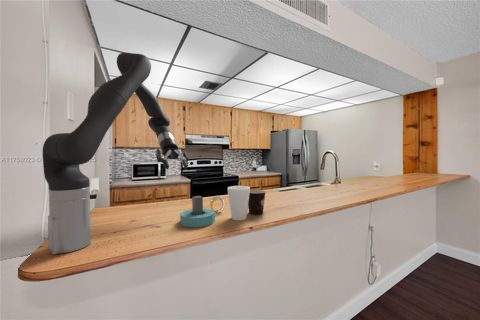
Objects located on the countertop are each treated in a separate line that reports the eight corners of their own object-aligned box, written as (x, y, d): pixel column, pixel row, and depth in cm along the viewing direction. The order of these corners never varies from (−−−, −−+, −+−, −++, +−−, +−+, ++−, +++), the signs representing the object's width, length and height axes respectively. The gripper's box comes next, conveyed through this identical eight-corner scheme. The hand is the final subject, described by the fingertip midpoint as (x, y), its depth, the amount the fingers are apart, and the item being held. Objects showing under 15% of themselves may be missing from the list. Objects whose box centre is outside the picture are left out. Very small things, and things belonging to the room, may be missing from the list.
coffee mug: (253, 216, 89) (253, 193, 89) (243, 212, 96) (243, 190, 96) (274, 213, 94) (274, 191, 94) (263, 208, 102) (263, 188, 102)
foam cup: (254, 218, 87) (254, 187, 87) (238, 223, 81) (238, 190, 81) (239, 213, 94) (239, 185, 94) (223, 217, 88) (223, 187, 88)
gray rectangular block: (196, 223, 81) (195, 197, 81) (192, 221, 83) (192, 196, 83) (202, 221, 83) (202, 196, 83) (199, 219, 85) (198, 195, 85)
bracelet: (211, 214, 93) (211, 196, 93) (209, 212, 96) (209, 195, 95) (225, 212, 96) (225, 195, 96) (223, 210, 99) (223, 194, 98)
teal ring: (195, 229, 74) (194, 220, 74) (173, 222, 82) (173, 213, 82) (221, 220, 84) (221, 212, 84) (199, 214, 92) (199, 207, 92)
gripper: (154, 136, 93) (163, 162, 84) (183, 138, 102) (194, 161, 94) (150, 148, 97) (158, 174, 88) (179, 149, 106) (189, 172, 98)
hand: (177, 167), depth 91 cm, fingers open, 8 cm apart
